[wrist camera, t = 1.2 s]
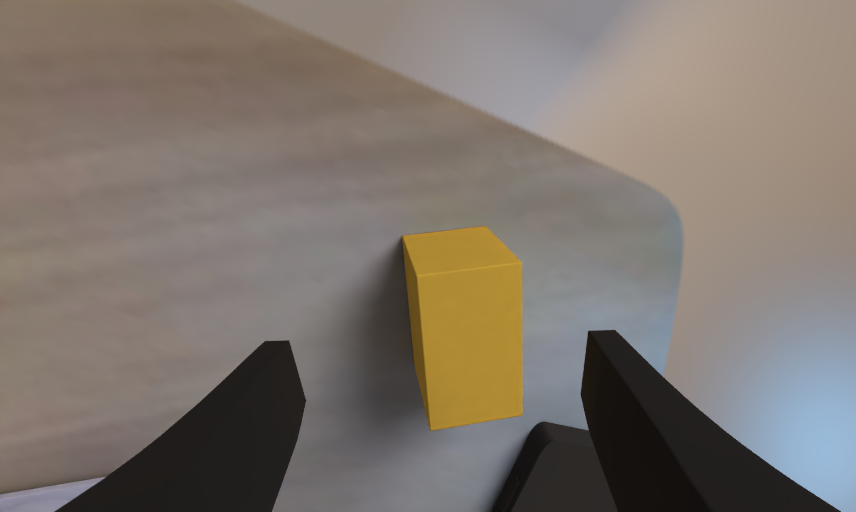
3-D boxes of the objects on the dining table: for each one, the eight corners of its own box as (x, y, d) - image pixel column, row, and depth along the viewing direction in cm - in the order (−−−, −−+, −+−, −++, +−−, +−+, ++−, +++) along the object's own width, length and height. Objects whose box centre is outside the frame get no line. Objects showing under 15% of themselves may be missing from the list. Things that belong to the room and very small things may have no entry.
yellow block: (489, 353, 24) (522, 415, 20) (414, 365, 24) (430, 431, 19) (485, 225, 22) (522, 262, 17) (401, 235, 22) (416, 275, 17)
